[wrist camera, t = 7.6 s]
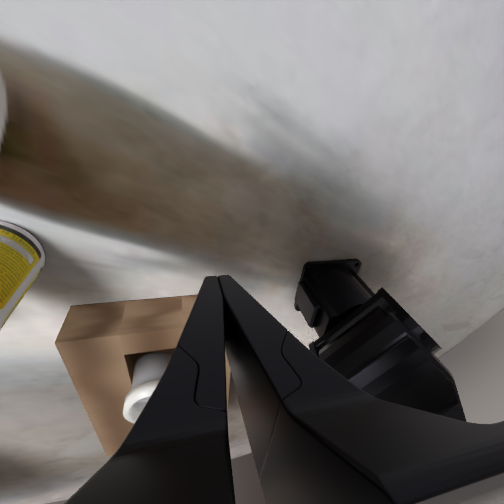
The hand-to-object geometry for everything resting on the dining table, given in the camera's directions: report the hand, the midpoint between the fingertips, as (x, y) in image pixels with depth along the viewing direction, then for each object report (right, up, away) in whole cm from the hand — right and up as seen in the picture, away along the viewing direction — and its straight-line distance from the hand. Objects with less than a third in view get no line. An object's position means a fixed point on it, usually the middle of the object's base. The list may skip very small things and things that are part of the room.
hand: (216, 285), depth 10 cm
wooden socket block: (-9, -12, +21) cm, 26 cm away
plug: (-8, -10, +16) cm, 20 cm away
